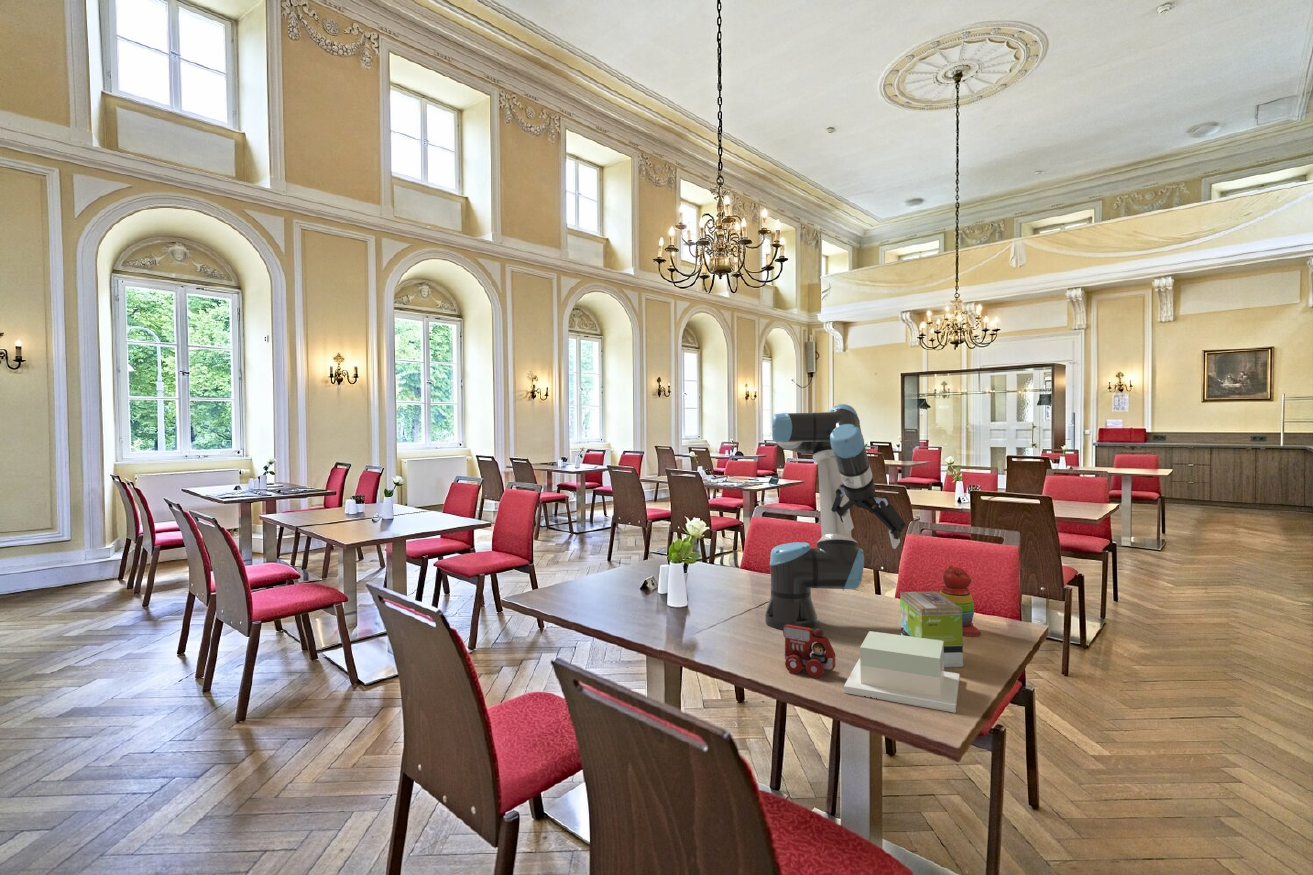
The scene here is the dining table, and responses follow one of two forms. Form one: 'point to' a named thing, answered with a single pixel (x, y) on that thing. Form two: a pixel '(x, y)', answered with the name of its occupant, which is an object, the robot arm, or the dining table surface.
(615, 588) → the dining table surface
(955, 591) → the stacking bear
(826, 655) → the toy fire truck
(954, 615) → the tea box
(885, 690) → the block on white base
